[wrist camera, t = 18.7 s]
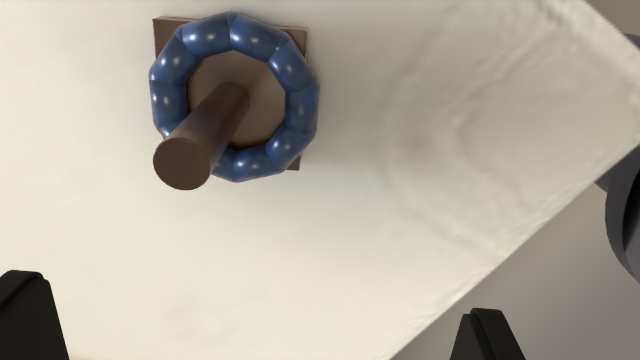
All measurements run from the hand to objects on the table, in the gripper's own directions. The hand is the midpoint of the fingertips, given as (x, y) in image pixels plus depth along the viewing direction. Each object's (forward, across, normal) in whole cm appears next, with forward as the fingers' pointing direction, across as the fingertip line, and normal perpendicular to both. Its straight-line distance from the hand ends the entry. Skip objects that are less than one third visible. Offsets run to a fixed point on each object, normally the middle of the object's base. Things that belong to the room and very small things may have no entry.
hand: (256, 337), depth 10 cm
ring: (+18, +4, 0) cm, 18 cm away
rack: (+20, +5, 0) cm, 21 cm away
